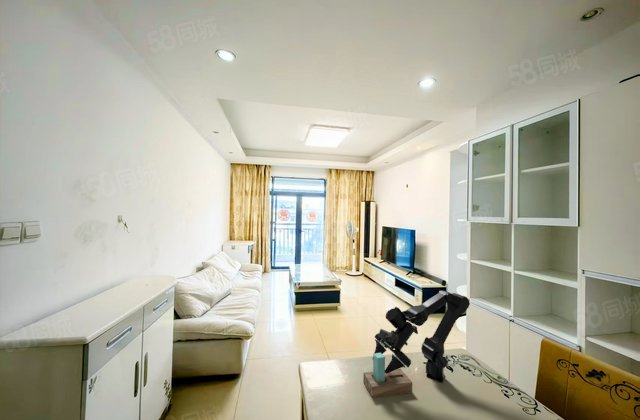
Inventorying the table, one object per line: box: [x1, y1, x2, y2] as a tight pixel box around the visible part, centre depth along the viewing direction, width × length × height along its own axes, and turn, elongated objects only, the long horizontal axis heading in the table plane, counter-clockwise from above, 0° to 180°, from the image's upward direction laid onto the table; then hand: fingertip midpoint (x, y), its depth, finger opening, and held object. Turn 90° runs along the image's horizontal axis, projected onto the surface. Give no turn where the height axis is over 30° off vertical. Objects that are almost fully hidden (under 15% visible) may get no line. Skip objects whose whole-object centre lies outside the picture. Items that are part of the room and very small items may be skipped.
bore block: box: [363, 368, 413, 398], centre depth 99 cm, size 9×17×4 cm, turn 101°
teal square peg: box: [372, 353, 386, 383], centre depth 98 cm, size 3×3×13 cm
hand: (379, 366), depth 98 cm, fingers open, 9 cm apart
